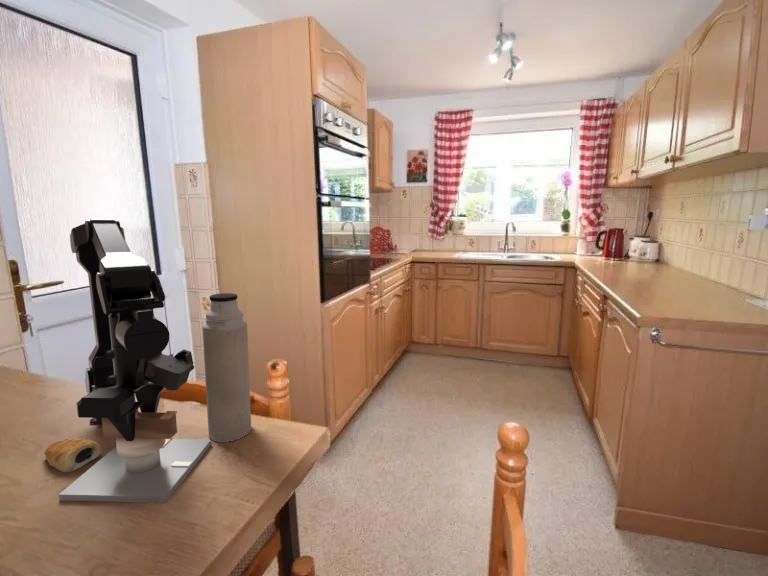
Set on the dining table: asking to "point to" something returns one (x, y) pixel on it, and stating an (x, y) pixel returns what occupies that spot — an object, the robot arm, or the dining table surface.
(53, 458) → the pastry
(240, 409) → the thermos bottle
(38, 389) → the dining table surface
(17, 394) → the dining table surface
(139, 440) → the rotary knob
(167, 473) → the plate
